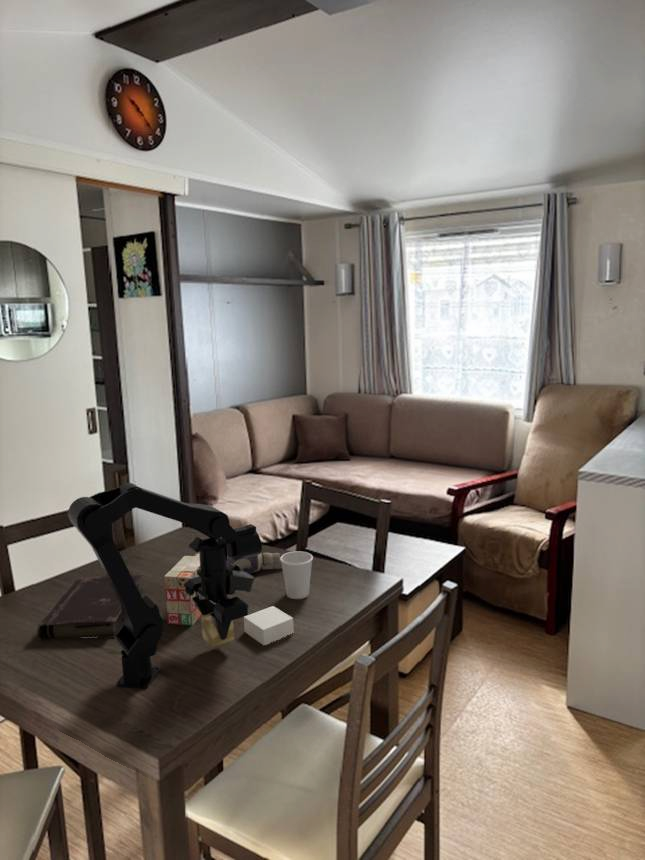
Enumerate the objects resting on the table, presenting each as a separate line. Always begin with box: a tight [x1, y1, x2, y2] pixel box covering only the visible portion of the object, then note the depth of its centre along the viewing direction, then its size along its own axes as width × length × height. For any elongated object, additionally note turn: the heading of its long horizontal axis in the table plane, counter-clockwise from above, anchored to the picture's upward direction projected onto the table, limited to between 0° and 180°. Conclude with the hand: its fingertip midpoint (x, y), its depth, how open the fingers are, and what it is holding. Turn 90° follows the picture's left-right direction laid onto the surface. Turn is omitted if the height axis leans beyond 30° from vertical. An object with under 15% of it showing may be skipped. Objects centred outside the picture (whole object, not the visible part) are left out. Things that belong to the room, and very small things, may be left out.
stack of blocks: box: [163, 552, 202, 626], centre depth 158 cm, size 21×6×12 cm, turn 169°
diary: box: [36, 573, 145, 641], centre depth 155 cm, size 19×25×5 cm
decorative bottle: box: [193, 552, 285, 574], centre depth 177 cm, size 26×8×7 cm, turn 102°
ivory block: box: [243, 605, 295, 646], centre depth 144 cm, size 8×8×4 cm
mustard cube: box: [200, 612, 235, 648], centre depth 137 cm, size 5×5×5 cm
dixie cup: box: [280, 550, 314, 600], centre depth 162 cm, size 8×8×10 cm
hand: (218, 634), depth 137 cm, fingers closed on mustard cube, 5 cm apart
